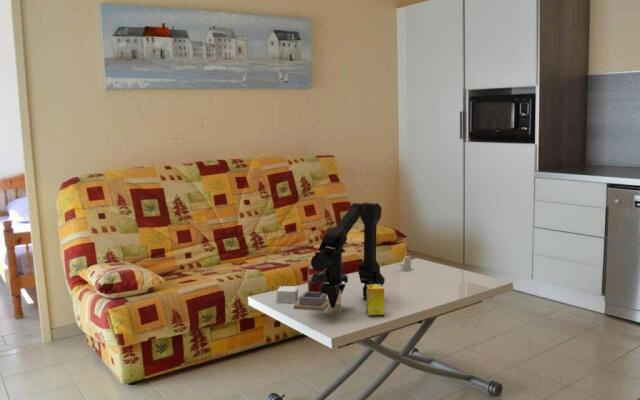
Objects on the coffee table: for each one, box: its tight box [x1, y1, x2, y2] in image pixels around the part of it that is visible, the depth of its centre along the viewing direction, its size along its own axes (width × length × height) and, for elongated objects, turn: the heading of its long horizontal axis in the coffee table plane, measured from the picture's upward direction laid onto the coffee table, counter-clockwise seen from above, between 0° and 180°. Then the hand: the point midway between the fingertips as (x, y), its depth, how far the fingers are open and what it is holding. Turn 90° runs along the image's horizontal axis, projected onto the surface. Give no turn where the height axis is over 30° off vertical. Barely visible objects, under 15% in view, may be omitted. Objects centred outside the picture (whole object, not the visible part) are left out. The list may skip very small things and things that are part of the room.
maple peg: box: [327, 289, 342, 317], centre depth 226 cm, size 5×5×9 cm
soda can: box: [307, 264, 325, 292], centre depth 251 cm, size 7×7×12 cm
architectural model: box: [398, 255, 412, 273], centre depth 291 cm, size 3×7×7 cm, turn 138°
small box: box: [276, 285, 299, 304], centre depth 244 cm, size 8×8×5 cm
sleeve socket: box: [293, 290, 328, 312], centre depth 237 cm, size 12×12×4 cm
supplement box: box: [365, 284, 385, 318], centre depth 224 cm, size 6×6×11 cm
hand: (334, 305), depth 226 cm, fingers closed on maple peg, 5 cm apart
